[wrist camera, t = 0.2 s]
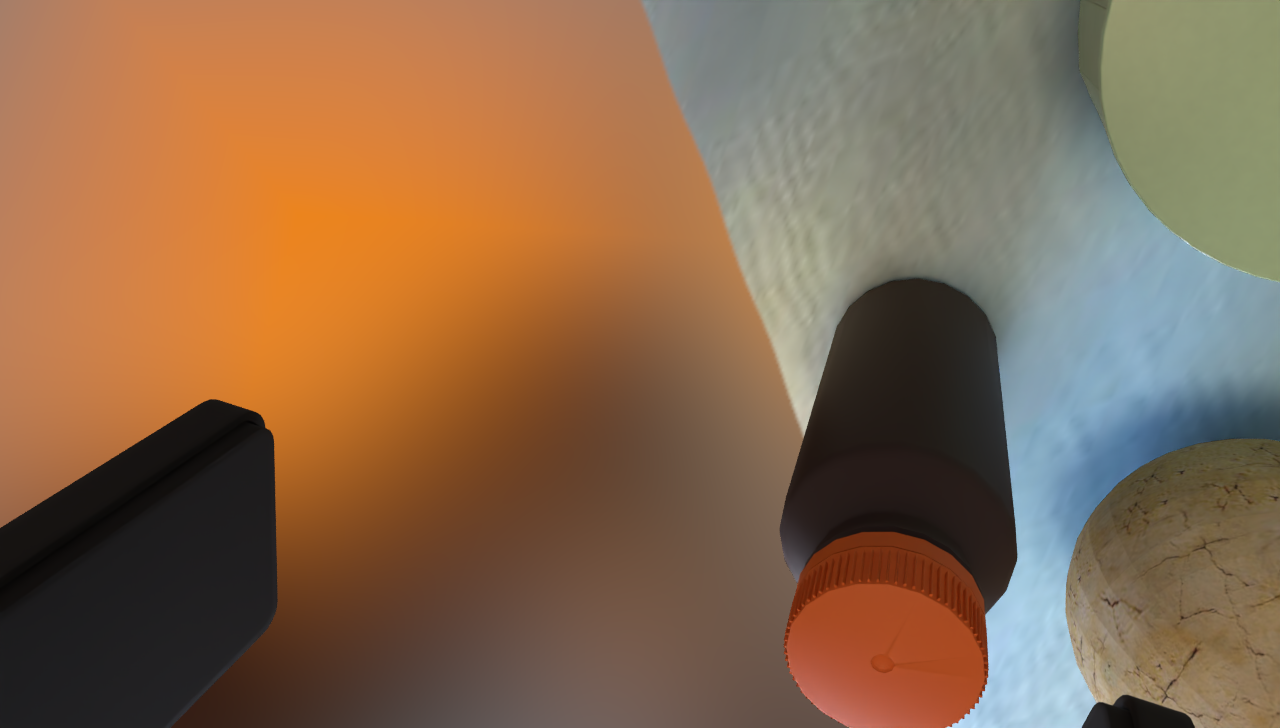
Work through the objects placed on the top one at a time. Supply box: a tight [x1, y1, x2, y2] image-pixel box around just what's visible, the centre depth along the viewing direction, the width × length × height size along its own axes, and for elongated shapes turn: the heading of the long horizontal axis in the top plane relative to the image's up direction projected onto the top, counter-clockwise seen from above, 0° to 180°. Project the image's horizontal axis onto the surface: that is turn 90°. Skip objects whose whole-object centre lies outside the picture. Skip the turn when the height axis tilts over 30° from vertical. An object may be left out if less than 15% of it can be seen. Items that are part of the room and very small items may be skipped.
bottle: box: [780, 279, 1017, 728], centre depth 32 cm, size 7×7×20 cm
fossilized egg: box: [1066, 439, 1280, 728], centre depth 33 cm, size 13×13×15 cm
